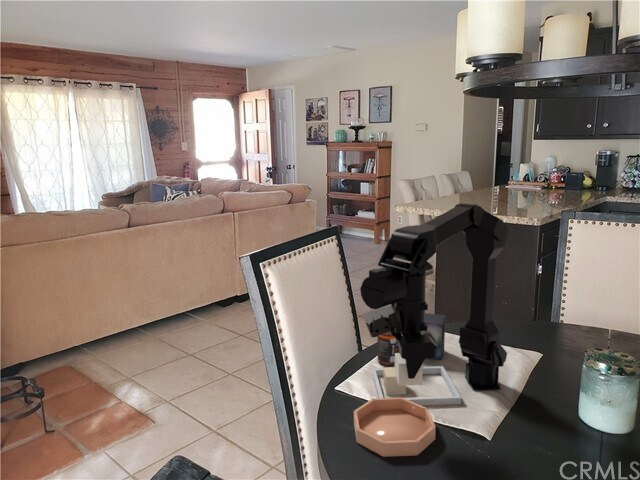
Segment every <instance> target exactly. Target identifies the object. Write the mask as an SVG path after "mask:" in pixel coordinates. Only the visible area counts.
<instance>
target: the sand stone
mask: <svg viewBox="0 0 640 480" xmlns="http://www.w3.org/2000/svg"><path fill="white" fill-rule="evenodd" d="M382 377H383V378H382V380H383V383H382V384H383V385H382V386H383V389H384V388H385V389H384V392H385V395H390V396H391V395H406V394H407V385H398V382H397V379H396V376H395V366H393V367H391V366H390V367H389V366H388V367H386V366H385V367H383V376H382Z"/></svg>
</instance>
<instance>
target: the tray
mask: <svg viewBox="0 0 640 480" xmlns="http://www.w3.org/2000/svg"><path fill="white" fill-rule="evenodd" d="M383 368H384V367H383ZM383 368H382V367H381V368H372V369H371V376H372V379H373V383H374V388H375V391H376V396H377V398H384V395H383V392H382V387H381V384H380V382H379V378H378V377H379V376H382V377H383ZM431 374H433V375H435V374H436V375H437V374H438V375H439V374H440V375H441V378H442V380H443V381H444V383H445V385H446V386H447V388H448V391H449V392H450V394H451V395H447V396H445V395H444V396H425V397H424V396H423V397H422V396H419V397H404V398H405V399H407V400H409V401H412V402H414V403H416V404H419V405H421V406H441V405H442V406H444V405H461V404H462V396H461V395H460V393H459V391H458V390H457V388H456V386H455V385H454V383H453V381H452V380H451V378H450V376H449V374H448V373H447V371H446V369H445V367H444V365H441V366H439V365H436V366H423V373H422V375H431Z"/></svg>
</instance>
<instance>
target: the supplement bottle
mask: <svg viewBox="0 0 640 480" xmlns="http://www.w3.org/2000/svg"><path fill="white" fill-rule="evenodd" d="M376 338H377V339H376V340H377V341H376V343H377V349H376V350H377V361H378V363H380V364H381V365H384V366H395V353H399V352H398V349H397V347H396V346H398V340H397V339H396V338H395V337H394V336H393V335H392V334H391V332H390V331H389V332H387V333H384V334H382V335H379V336H378V337H376Z"/></svg>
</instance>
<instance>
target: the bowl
mask: <svg viewBox="0 0 640 480" xmlns="http://www.w3.org/2000/svg"><path fill="white" fill-rule="evenodd" d="M405 398H406V397H383V398H378V397H377V398H371V399H370V400H368V401H367V402H365V403H363V404H362V405H361V406H359V407H357V408H356V409H355V410H353V427H354V431H355V439H356V443H358V445H359V444H360V446H363V447H364V448H367V449H368V450H370V451H372V452H373V453H376V454H378V455H379V456H382V457H383V458H385V457H409V456H418V455H419V454H421V453H422V452H423V451H424V450H425V449H427V447H429V446H430V445H431V444H432V443H433V442H434V441H435V440H436V428H437V427H436V424H435V422H434V419H433V417H432V415H431V413H430V410H429V408H428V407H427V406H426V407H425V405H422V406H421V405H419V404H416V403H414V402H412V401H409V400H407V399H405Z"/></svg>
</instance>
